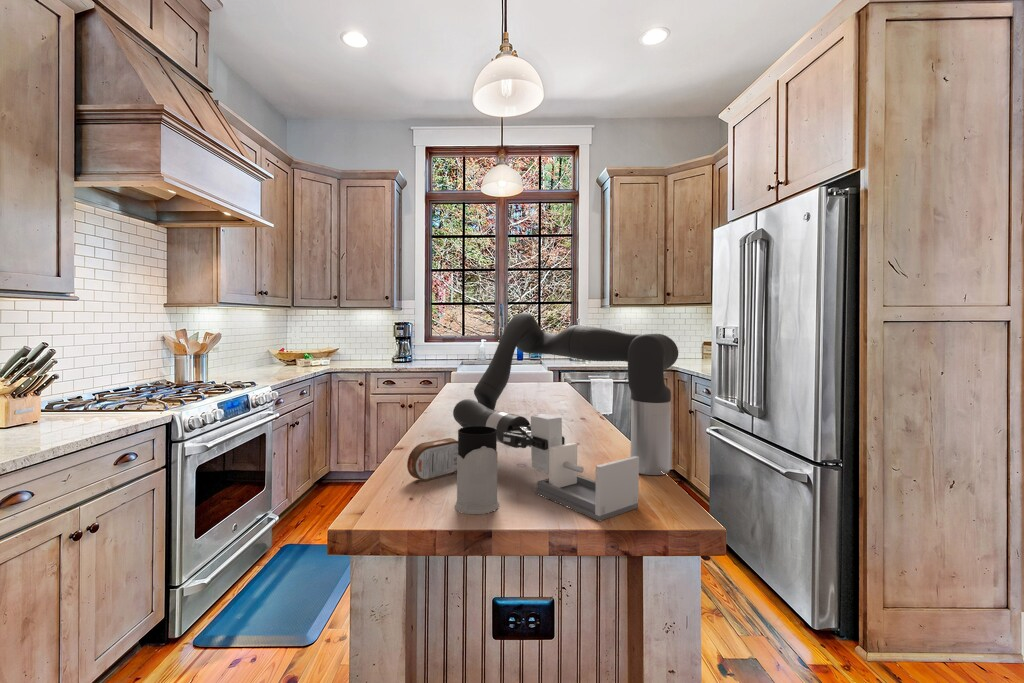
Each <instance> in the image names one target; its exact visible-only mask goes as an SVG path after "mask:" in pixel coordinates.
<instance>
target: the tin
mask: <svg viewBox="0 0 1024 683" xmlns="http://www.w3.org/2000/svg"><path fill="white" fill-rule="evenodd" d="M457 455H458V440H456V439H454V438H453V437H448V438H443V439H437V440H431V441H426V442H425V441H424V442H421V443H419V444H417V445H416V446H414V447H413V449H412V450H411V451H410V453H409V455H408V458H407V461H406V462H407V464H406V467H407V471H408V474H409V475H410V476H411V477H412V478H414V479H417V480H419V481H423V482H428V481H431V480H436V479H440V478H443V477H446V476H447V475H448V476H451V475H455V474H457ZM439 477H440V478H439Z"/></svg>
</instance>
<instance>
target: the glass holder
mask: <svg viewBox="0 0 1024 683" xmlns="http://www.w3.org/2000/svg"><path fill="white" fill-rule="evenodd" d="M457 441H458V455H457V472H456V502H455V504H454V509H455V511H457V512H458V511H460V512H459V513H461V512H462V513H461V514H464V513H465V514H464V515H469V514H483V515H485V514H484V513H488V514H490V513H489V512H492V511H494V510H496V509H497V508H498V507H499V508H500V503H499V501H498V451H497V448H498V447H497V446H498V445H497V443H498V442H497V430H496V429H495V428H492V427H486V426H471V427H464V428H463V427H461V428H458V430H457ZM499 508H498V509H499ZM498 509H497V510H498ZM497 510H496V511H497ZM494 512H495V511H494ZM492 513H493V512H492Z"/></svg>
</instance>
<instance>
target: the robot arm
mask: <svg viewBox="0 0 1024 683" xmlns="http://www.w3.org/2000/svg"><path fill="white" fill-rule="evenodd" d="M502 333H503V334H502V335H501V338H500V339H499V343H498V345H497V348H496V349H495V352H494V355H493V357H492V359H491V361H490V363H489V365H488V367H487V368H486V370H485V372H484V373H483V375H482V376H481V378H480V379H479V381H478V382H477V385H475V388H474V389H473V394H474V396H475V399H476V400H477V401H476V400H474V399H470V398H466V399H462V400H460V401H458V403H456V404H455V406H454V408H453V411H452V416H453V418H454V420H455V422H456V423H458V425H459V426H460V427H461V428H464V427H471V426H486V427H492V428H495V429H496V430H497V443H499V444H503V445H505V446H508V447H511V448H515V449H519V448H520V449H521V448H522V449H526V448H527V447H529V448H533V447H536V448H539V449H542V450H547V449H548V441H547V440H546V439H543V438H540V437H535V436H534V435H531V422H530V421H529V419H527V417H525V416H521V415H519V414H514V413H510V412H507V411H499V410H496V405H497V401H498V399H499V398H500V396H501V394H502V393H503V391H504V390H505V388H506V386H507V384H508V382H509V378H510V376H511V370H512V362H513V358H514V354H515V350H516V349H518V350H519V351H520V352H521V353H525V354H537V355H538V354H539V355H553V356H558V357H566V358H567V357H568V358H572V359H576V360H583V361H589V362H590V361H591V362H625V363H627V382H628V383H627V384H628V388H629V390H630V394H631V397H630V398H631V399H630V400H631V404H630V406H631V408H630V409H631V410H630V451H629V452H630V454H629V455H630V456H629V457H633V456H637V457H639V474H641V475H648V476H663V475H667V474H669V472H670V470H672V458H673V457H672V456H673V455H672V452H673V451H672V450H673V445H672V444H673V431H672V430H671V412H672V411H671V410H672V408H671V404H672V403H671V402H672V401H671V400H672V392H671V389H670V388H669V387H668V386H666V384H665V375H664V374H665V373H664V371H665V370H668V369H669V368H671V367H672V366H674V364H675V363H676V361H677V360H678V358H679V349H678V346H677V343H675V341H674V340H673V339H672V338H670V337H669V336H667V335H665V334H662V333H644V334H641V333H640V334H639V333H638V334H637V333H626V332H625V333H624V332H621V331H615V330H611V329H608V328H607V329H606V328H602V327H595V326H588V325H581V324H580V325H577V324H576V325H575V324H573V325H570V326H568V327H566V328H564V329H563V330H561V331H560V332H559V333H552V332H551V333H550V332H546V331H544V330H542V328H541V327H540V324H538V322H537V320H536V319H535V318H534V316H533V315H532V314H531V313H530V312H520V313H517V314H515V315H514V316H513V317H512V318H511V319H510V320H509V321H508V322H507V325H506V326H505V329H504V331H503V332H502ZM565 440H566V439H565V437H564V436H563V435H562V445H564V444H566V442H565ZM661 471H662V472H663V473H665V474H663V473H662V472H661Z"/></svg>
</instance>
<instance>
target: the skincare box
mask: <svg viewBox="0 0 1024 683" xmlns="http://www.w3.org/2000/svg"><path fill="white" fill-rule="evenodd" d="M562 420H563V418H562V417H560V416H557V415H554V414H553V415H552V414H547V413H538V414H532V415H530V425H531V435H534V436H535V437H540V438H543V439H546V440H547V441H548V449H547V450H542V449H539V448H536V447H533V448H531V447H530V448H531V449H530V450H531V455H530V456H531V468H532V469H533V470H536V471H539V472H542V473H543V474H547V475H549V447H554V446H559V445H562V436H563V427H562V426H563V425H562V423H563V421H562Z"/></svg>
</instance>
